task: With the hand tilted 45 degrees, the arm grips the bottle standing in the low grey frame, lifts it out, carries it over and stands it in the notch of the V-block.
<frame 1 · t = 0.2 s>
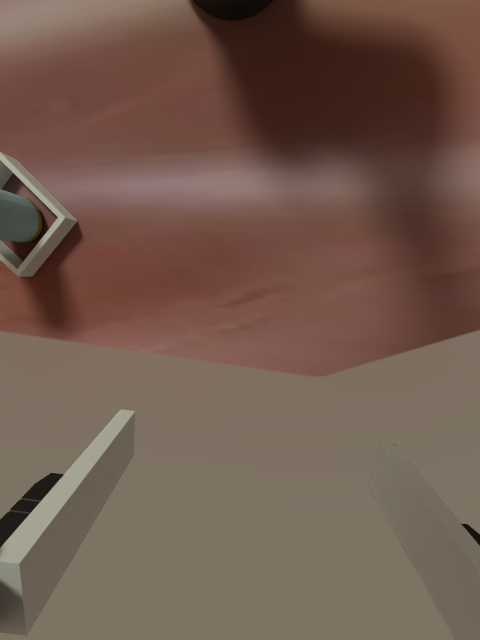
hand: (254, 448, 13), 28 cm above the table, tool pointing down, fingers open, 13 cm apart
grey frame: (24, 220, 39), on the table
bottle: (26, 220, 39), resting in grey frame
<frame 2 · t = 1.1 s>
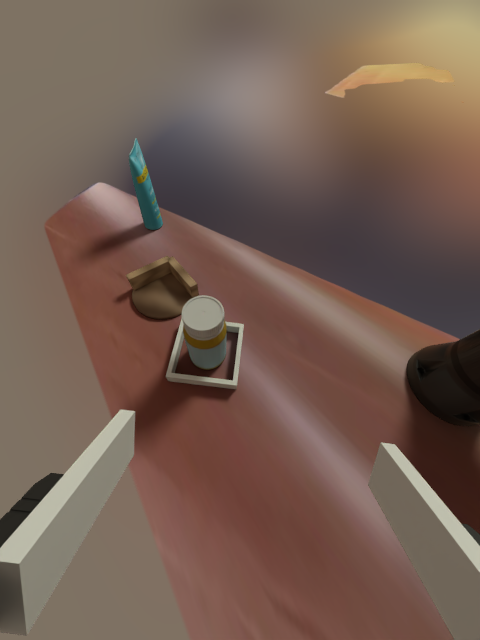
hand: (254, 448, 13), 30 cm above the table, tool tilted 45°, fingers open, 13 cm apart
grey frame: (208, 353, 47), on the table
tube: (154, 225, 67), on the table
v block: (165, 293, 54), on the table
bottle: (208, 354, 48), resting in grey frame
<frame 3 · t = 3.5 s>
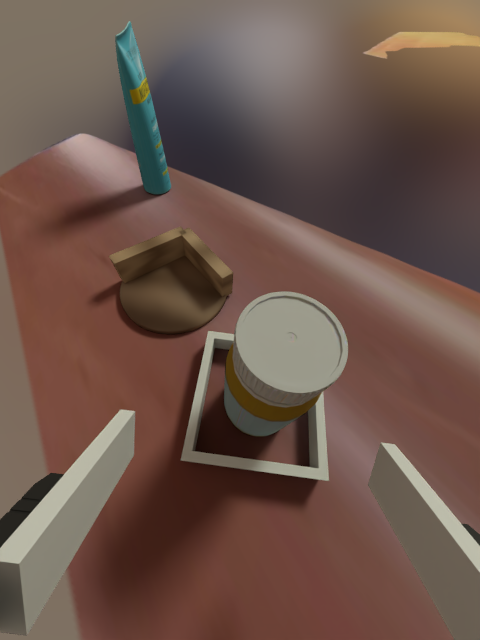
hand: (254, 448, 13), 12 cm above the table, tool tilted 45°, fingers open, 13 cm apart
grey frame: (256, 401, 26), on the table
tube: (158, 188, 45), on the table
v block: (176, 288, 33), on the table
bottle: (256, 401, 26), resting in grey frame
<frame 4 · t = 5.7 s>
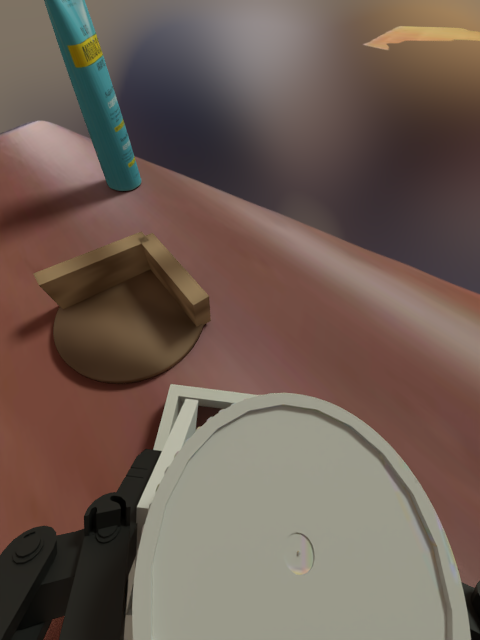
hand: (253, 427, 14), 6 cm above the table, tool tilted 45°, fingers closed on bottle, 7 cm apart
grey frame: (240, 491, 17), on the table
tube: (126, 184, 37), on the table
v block: (135, 315, 24), on the table
bottle: (240, 491, 17), resting in grey frame, touching gripper
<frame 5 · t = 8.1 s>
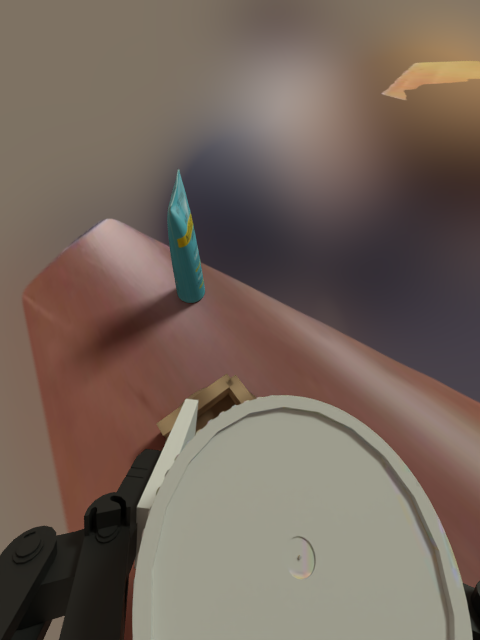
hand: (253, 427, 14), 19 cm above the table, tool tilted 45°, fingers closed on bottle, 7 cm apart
tube: (192, 292, 43), on the table
v block: (221, 439, 31), on the table
bottle: (240, 492, 17), point 13 cm above the table, touching gripper
when the fingers open (8 cm above the table, at t = 10.9 s): bottle drops 1 cm, resting on v block.
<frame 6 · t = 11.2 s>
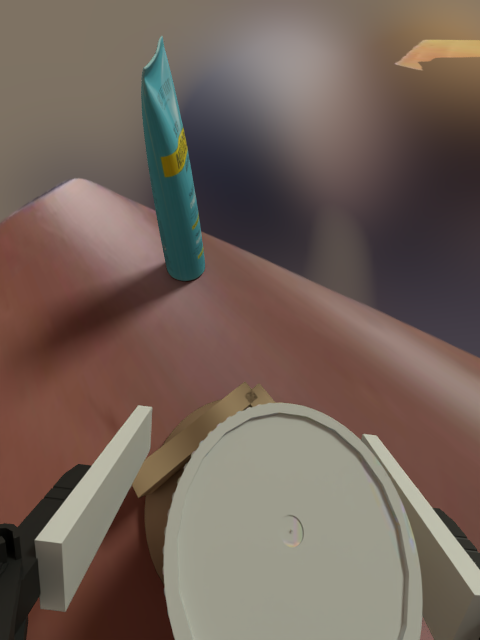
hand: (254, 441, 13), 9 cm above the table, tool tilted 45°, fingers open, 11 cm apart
tube: (187, 268, 31), on the table
v block: (238, 489, 19), on the table
bottle: (241, 492, 18), point 1 cm above the table, touching v block
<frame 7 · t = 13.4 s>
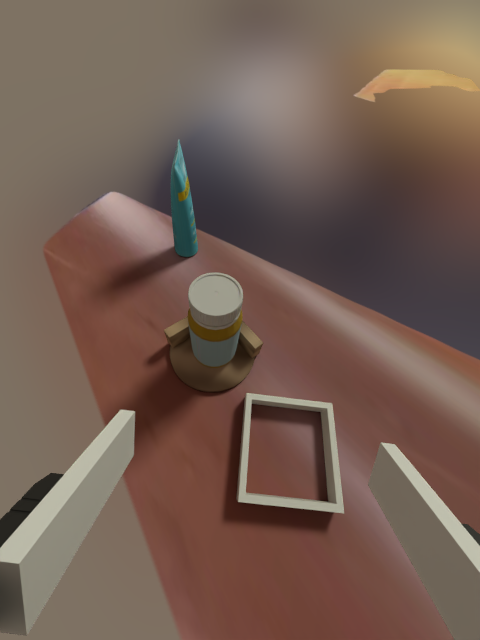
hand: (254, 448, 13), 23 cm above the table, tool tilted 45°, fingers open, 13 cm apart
grey frame: (285, 448, 33), on the table
tube: (187, 250, 52), on the table
v block: (213, 350, 40), on the table
bottle: (214, 349, 40), point 1 cm above the table, touching v block
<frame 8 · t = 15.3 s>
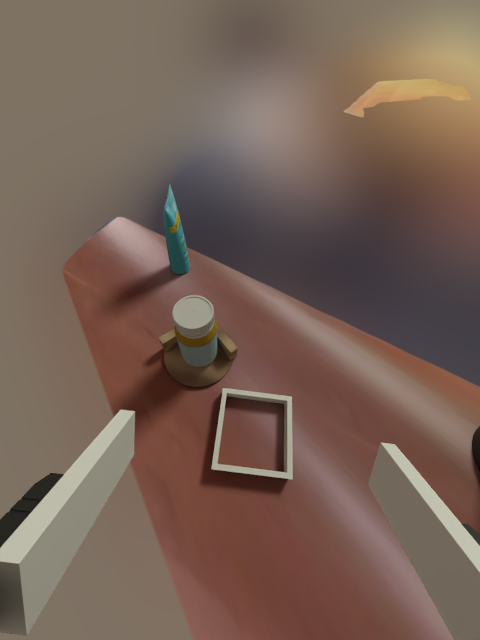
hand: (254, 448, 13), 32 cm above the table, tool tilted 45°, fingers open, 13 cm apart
grey frame: (253, 431, 42), on the table
tube: (181, 268, 62), on the table
v block: (199, 353, 49), on the table
bottle: (200, 353, 49), point 1 cm above the table, touching v block
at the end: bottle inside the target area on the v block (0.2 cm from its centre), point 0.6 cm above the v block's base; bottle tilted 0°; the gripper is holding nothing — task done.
